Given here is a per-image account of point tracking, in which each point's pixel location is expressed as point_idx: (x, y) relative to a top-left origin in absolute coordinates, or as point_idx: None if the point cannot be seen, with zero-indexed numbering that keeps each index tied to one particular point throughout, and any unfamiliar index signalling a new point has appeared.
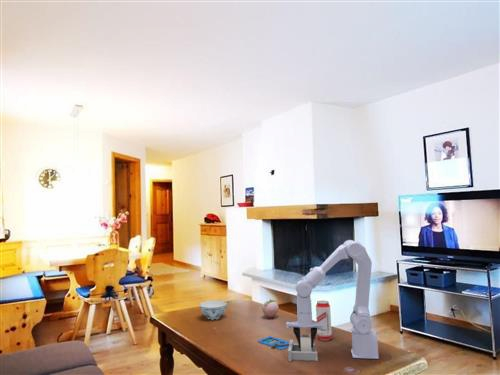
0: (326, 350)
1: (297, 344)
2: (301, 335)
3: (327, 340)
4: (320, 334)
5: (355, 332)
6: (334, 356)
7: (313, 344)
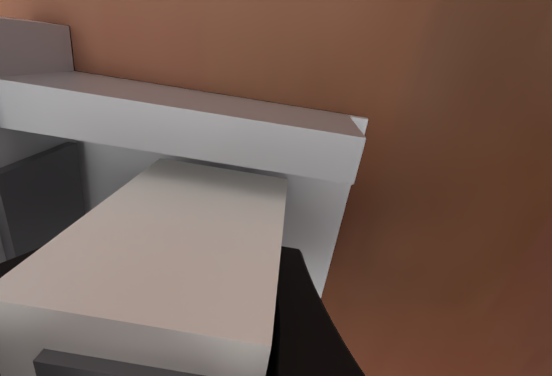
0: (503, 77)
1: (72, 134)
2: (22, 372)
3: None
4: None
5: None
6: (508, 255)
7: (329, 155)
